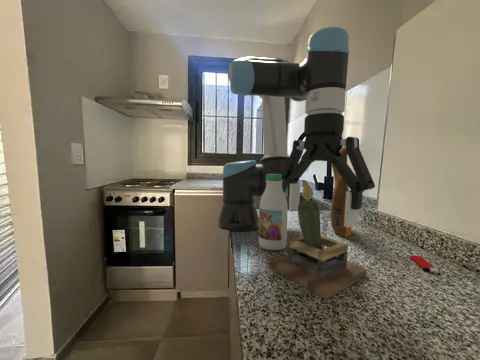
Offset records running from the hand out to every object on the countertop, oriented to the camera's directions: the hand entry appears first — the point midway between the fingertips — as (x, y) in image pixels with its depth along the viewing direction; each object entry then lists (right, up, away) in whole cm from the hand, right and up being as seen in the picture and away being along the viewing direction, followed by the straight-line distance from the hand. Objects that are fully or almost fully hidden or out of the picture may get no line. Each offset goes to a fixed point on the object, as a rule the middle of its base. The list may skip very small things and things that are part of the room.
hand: (318, 217), depth 48 cm
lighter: (+26, -13, +4) cm, 29 cm away
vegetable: (0, -12, +1) cm, 12 cm away
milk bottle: (-8, -11, +15) cm, 20 cm away
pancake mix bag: (+17, -10, +30) cm, 36 cm away
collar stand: (0, -12, +1) cm, 12 cm away
